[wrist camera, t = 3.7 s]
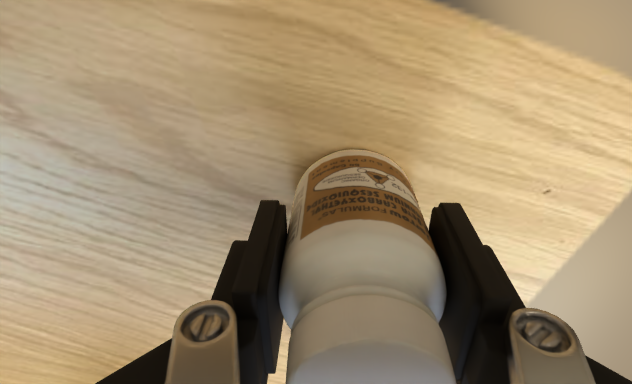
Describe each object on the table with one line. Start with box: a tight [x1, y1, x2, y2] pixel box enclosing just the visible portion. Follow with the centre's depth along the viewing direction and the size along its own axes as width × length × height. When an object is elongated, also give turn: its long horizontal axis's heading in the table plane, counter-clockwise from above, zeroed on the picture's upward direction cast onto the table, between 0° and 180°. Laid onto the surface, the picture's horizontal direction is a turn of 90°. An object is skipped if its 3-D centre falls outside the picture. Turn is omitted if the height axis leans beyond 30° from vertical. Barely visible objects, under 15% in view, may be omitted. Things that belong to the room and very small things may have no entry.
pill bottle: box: [278, 149, 456, 384], centre depth 11 cm, size 4×4×8 cm
